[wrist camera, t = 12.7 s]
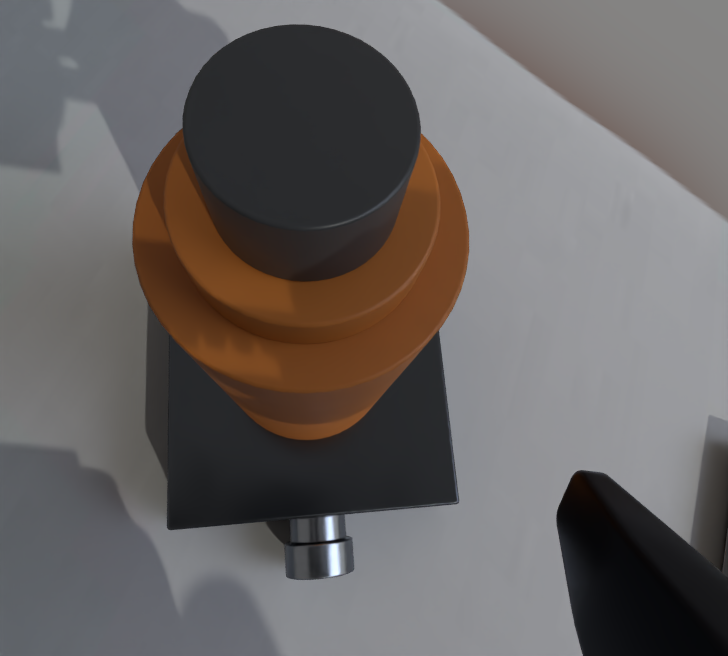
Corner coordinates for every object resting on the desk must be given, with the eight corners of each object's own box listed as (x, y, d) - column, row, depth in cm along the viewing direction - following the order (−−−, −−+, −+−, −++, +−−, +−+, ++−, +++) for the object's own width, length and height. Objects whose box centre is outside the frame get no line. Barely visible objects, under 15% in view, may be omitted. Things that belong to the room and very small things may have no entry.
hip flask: (186, 253, 21) (169, 223, 19) (412, 245, 22) (425, 215, 20) (185, 580, 18) (165, 596, 16) (447, 553, 19) (467, 565, 17)
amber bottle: (417, 374, 18) (627, 170, 6) (291, 474, 17) (247, 465, 5) (322, 257, 19) (345, -127, 7) (195, 345, 18) (-46, 65, 6)
